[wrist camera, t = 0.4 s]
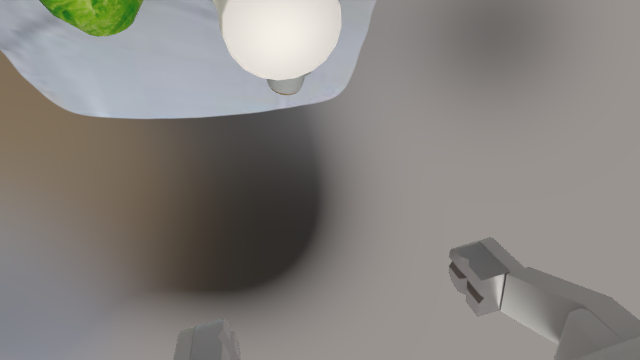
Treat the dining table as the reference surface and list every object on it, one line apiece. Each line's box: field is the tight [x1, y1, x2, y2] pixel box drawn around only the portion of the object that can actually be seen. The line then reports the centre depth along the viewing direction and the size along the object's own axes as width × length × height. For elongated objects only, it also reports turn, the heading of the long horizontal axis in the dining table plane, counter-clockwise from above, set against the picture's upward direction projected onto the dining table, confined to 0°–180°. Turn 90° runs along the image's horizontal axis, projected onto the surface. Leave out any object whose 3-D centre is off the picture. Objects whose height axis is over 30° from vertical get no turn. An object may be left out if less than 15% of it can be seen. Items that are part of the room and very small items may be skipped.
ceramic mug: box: [267, 71, 312, 95], centre depth 63 cm, size 11×8×8 cm
